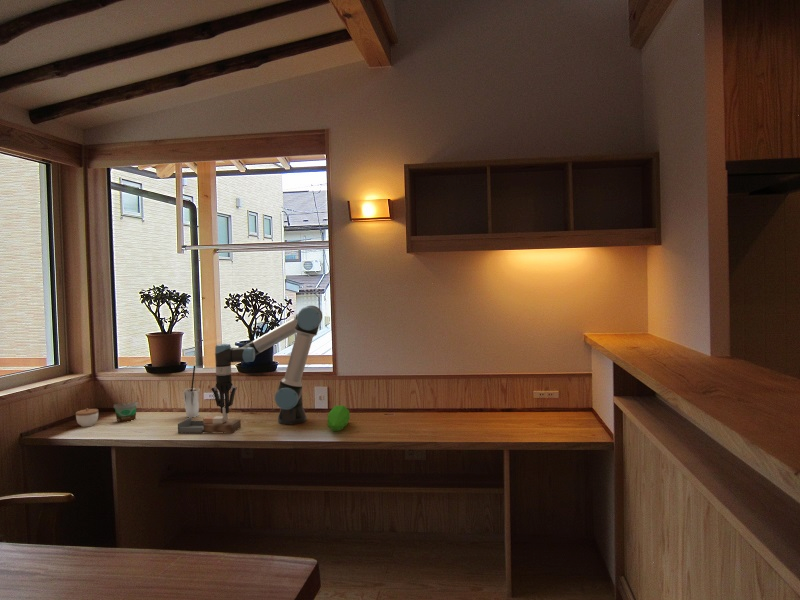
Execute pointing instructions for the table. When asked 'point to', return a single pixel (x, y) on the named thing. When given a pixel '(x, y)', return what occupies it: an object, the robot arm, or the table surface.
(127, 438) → the table surface
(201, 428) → the tray
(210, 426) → the walnut board
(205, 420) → the terracotta tile
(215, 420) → the cream tile
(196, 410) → the utensil holder
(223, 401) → the robot arm
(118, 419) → the food container
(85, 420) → the lidded jar
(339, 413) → the green oblong piece
